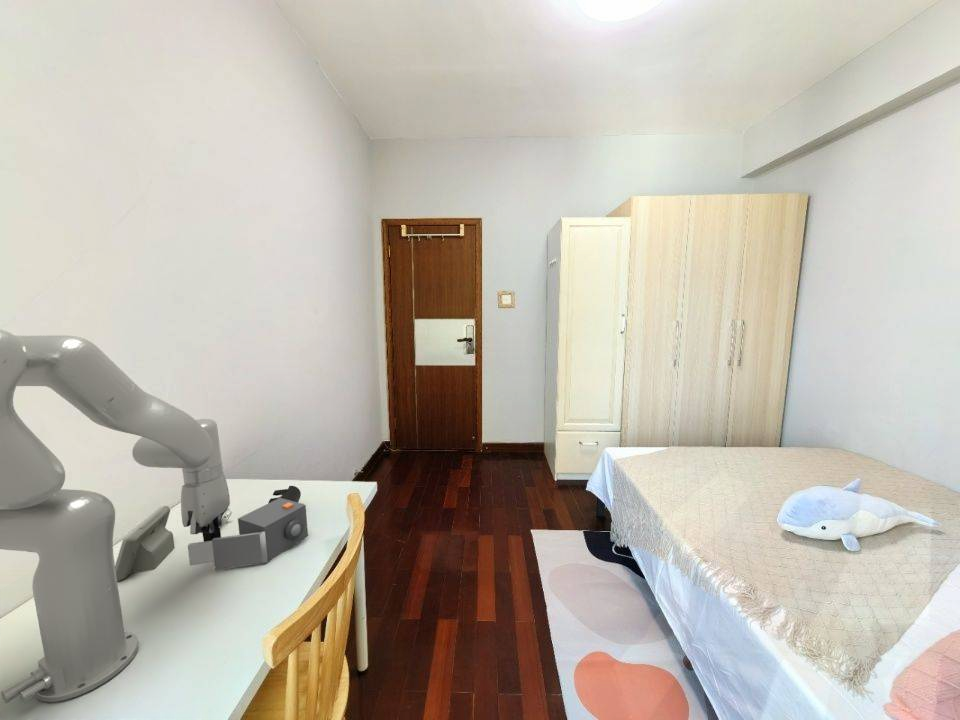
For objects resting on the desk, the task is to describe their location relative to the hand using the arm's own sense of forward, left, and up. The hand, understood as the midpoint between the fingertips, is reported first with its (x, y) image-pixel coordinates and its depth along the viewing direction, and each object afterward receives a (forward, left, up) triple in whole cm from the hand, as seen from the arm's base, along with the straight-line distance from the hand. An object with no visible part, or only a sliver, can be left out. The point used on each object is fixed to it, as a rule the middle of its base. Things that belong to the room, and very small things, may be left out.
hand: (213, 544), depth 94 cm
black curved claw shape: (+24, +5, -6) cm, 25 cm away
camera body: (+12, -6, -5) cm, 14 cm away
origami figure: (+10, +17, -6) cm, 21 cm away
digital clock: (-6, +18, -6) cm, 20 cm away
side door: (+1, -5, -5) cm, 7 cm away
